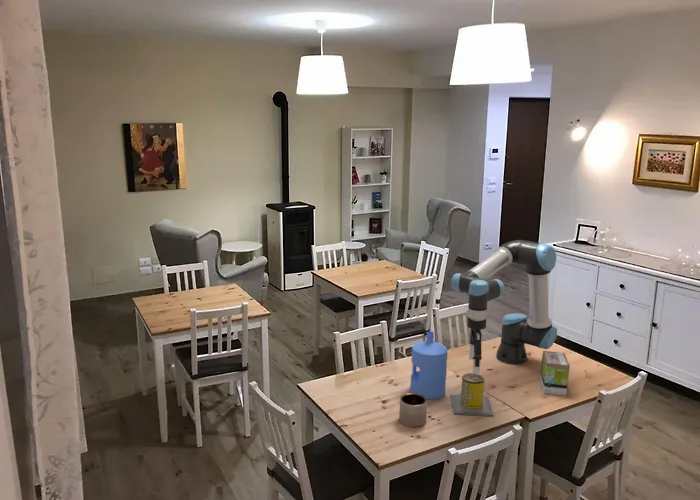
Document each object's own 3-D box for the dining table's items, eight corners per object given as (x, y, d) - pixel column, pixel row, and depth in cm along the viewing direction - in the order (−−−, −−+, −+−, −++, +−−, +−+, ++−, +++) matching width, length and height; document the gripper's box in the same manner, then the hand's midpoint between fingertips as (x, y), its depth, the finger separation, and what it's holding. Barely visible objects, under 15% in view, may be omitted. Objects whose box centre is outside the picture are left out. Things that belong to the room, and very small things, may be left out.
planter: (397, 414, 238) (397, 393, 235) (423, 413, 239) (424, 392, 236) (401, 428, 227) (402, 406, 225) (428, 427, 228) (429, 405, 226)
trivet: (450, 396, 254) (450, 394, 253) (487, 398, 252) (488, 396, 252) (453, 414, 238) (454, 412, 238) (493, 416, 237) (493, 414, 237)
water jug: (448, 387, 262) (451, 328, 256) (441, 402, 248) (445, 341, 241) (414, 381, 267) (416, 324, 261) (406, 396, 253) (408, 336, 246)
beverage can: (468, 397, 251) (470, 371, 249) (486, 404, 245) (488, 378, 242) (456, 403, 245) (458, 377, 242) (474, 411, 239) (476, 384, 236)
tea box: (567, 396, 255) (570, 365, 252) (543, 393, 257) (546, 362, 254) (561, 381, 269) (564, 351, 266) (539, 379, 271) (542, 349, 268)
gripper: (464, 307, 249) (462, 353, 254) (471, 328, 225) (468, 379, 230) (482, 308, 248) (479, 354, 253) (490, 329, 224) (487, 379, 229)
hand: (474, 366), depth 241 cm, fingers open, 13 cm apart
